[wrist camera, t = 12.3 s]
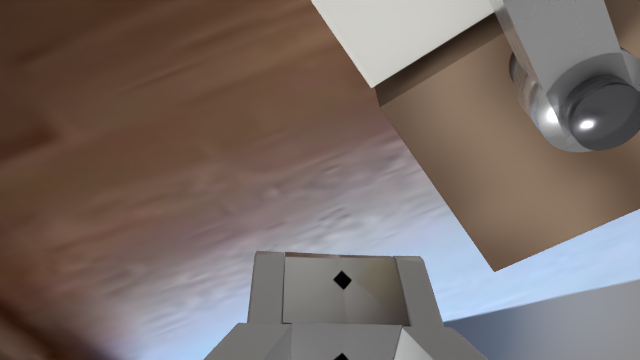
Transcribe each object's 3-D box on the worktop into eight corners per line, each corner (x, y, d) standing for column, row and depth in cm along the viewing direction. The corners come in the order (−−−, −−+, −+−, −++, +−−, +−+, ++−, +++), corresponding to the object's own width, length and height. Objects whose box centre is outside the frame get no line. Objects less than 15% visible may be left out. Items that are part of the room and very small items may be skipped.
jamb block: (469, 212, 30) (501, 289, 25) (368, 61, 24) (383, 121, 19) (694, 103, 26) (785, 169, 21) (636, -111, 20) (743, -91, 15)
